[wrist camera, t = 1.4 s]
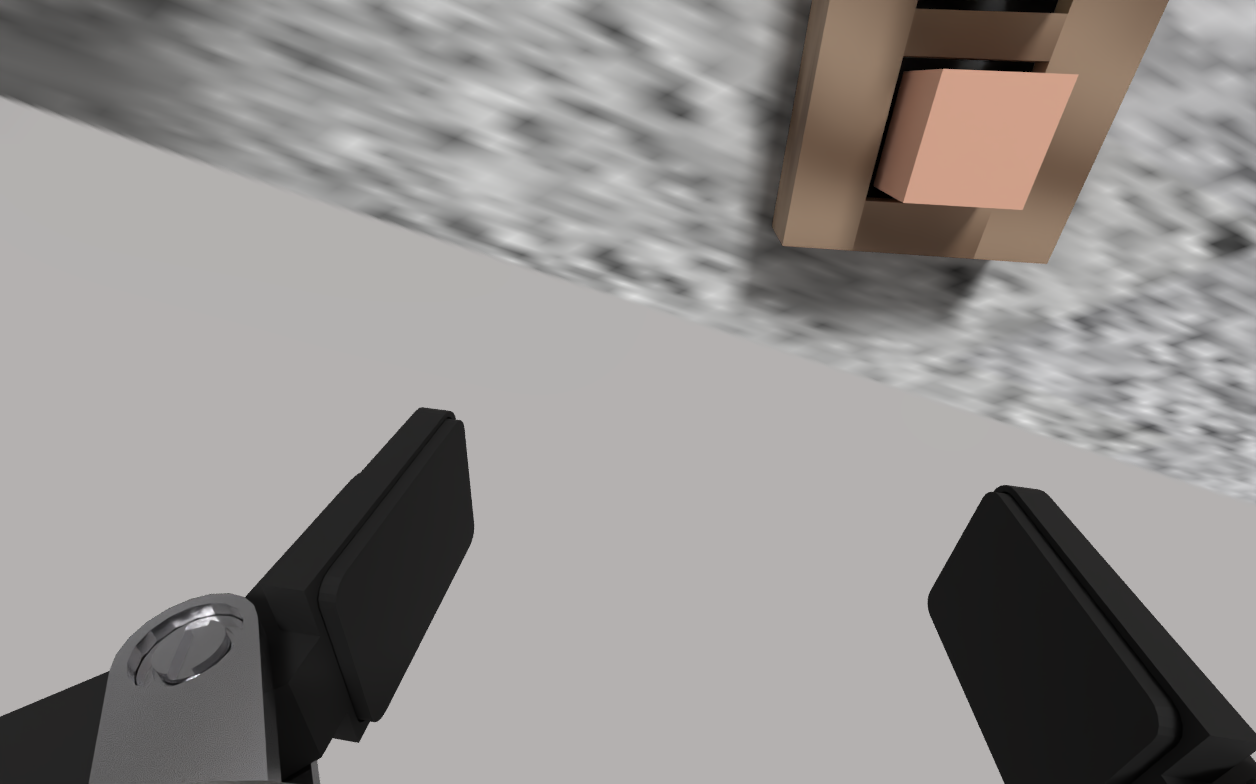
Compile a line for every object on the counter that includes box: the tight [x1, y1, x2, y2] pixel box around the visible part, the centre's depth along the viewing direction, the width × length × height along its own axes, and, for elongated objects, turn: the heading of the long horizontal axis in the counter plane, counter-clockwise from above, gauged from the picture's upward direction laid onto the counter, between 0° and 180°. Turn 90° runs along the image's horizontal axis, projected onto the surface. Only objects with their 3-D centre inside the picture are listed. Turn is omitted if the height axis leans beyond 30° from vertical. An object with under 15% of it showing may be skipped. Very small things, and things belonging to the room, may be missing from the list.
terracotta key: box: [873, 69, 1079, 210], centre depth 21 cm, size 4×4×4 cm
